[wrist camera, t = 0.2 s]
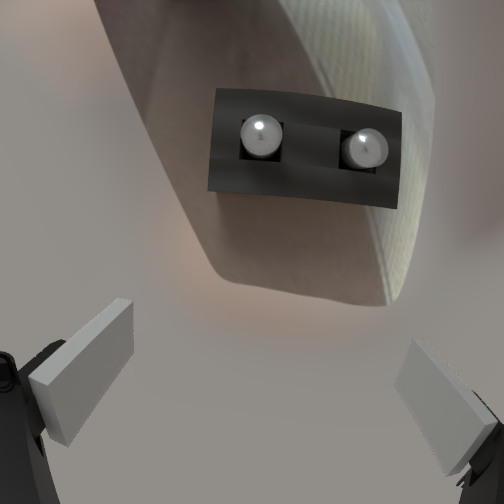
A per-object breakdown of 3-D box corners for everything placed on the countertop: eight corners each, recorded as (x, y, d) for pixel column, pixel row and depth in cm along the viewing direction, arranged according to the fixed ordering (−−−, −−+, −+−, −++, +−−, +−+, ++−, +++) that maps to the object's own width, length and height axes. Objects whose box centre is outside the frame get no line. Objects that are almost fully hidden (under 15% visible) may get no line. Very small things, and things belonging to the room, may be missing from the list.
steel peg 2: (339, 134, 32) (353, 125, 26) (370, 139, 32) (388, 132, 26) (337, 167, 33) (351, 163, 27) (369, 172, 33) (387, 169, 27)
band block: (222, 102, 36) (216, 88, 30) (383, 121, 35) (401, 112, 29) (215, 190, 38) (207, 191, 32) (378, 206, 38) (396, 209, 32)
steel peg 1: (245, 124, 32) (242, 113, 27) (280, 127, 32) (283, 116, 27) (242, 158, 33) (239, 152, 27) (277, 160, 33) (281, 155, 27)
